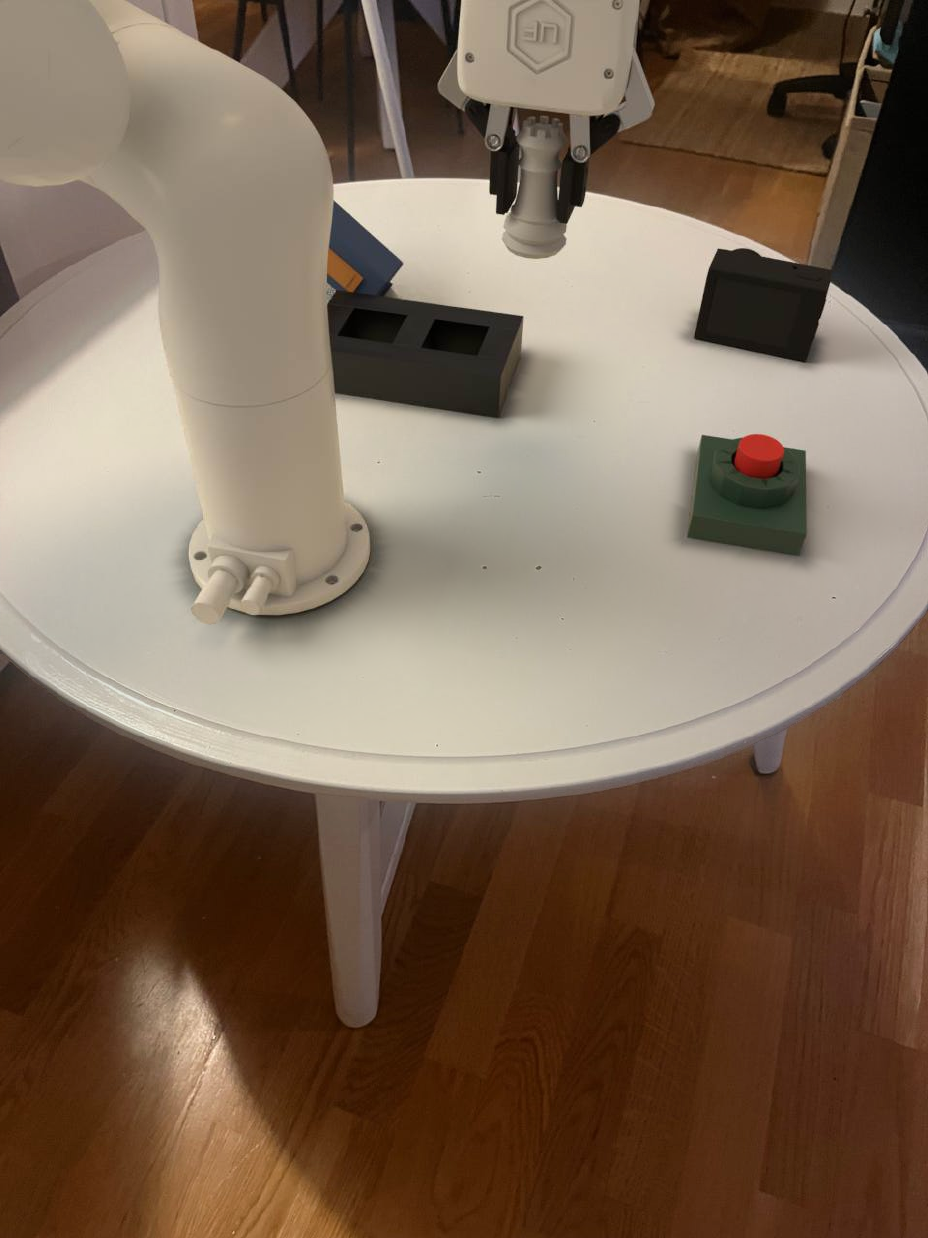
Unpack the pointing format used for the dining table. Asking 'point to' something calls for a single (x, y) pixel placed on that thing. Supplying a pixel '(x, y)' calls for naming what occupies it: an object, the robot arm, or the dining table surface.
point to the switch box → (748, 500)
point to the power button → (759, 456)
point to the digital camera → (762, 303)
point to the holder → (423, 352)
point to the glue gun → (359, 258)
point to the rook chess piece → (537, 193)
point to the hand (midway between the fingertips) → (536, 207)
